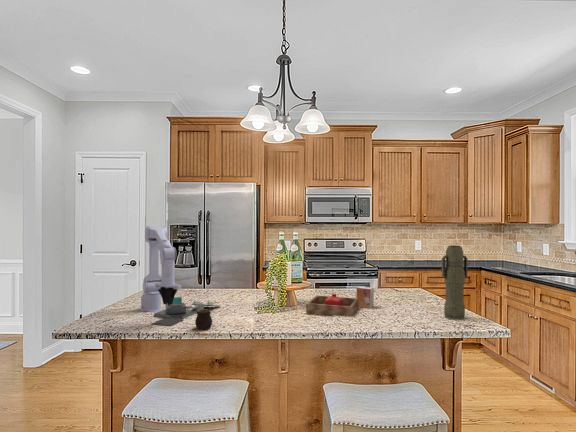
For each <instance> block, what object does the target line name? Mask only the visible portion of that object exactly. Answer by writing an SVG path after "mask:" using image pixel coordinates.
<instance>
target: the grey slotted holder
mask: <svg viewBox="0 0 576 432" xmlns="http://www.w3.org/2000/svg"><path fill="white" fill-rule="evenodd" d="M182 303H183V305H178V306H170V305H168V304H164V306H165V307H164V310H166V314H177V313H186V310H189V309H197V308H200V305H195V306H193V305H186V303H185V302H182Z"/></svg>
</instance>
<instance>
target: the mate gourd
mask: <svg viewBox="0 0 576 432" xmlns="http://www.w3.org/2000/svg"><path fill="white" fill-rule="evenodd" d="M213 307H214V306H210V308H209V309H207V308H204V309H200V310H198V311H197V316H196V318H195V320H194V321H195V327H196V329H197V330H200V331H204V330H208V329H209V330H210V328H211V327H212V324H213V318H212V316H211V309H212V308H213Z"/></svg>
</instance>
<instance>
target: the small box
mask: <svg viewBox="0 0 576 432" xmlns="http://www.w3.org/2000/svg"><path fill="white" fill-rule="evenodd" d="M374 291H375V287H371V286H370V287H369V286H357V287H356V295H355V296H356V297H355V298H359V308H362V309H372V308H373V307H374V301H375V299H374V295H375V294H374V293H375V292H374Z"/></svg>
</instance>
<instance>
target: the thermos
mask: <svg viewBox="0 0 576 432" xmlns="http://www.w3.org/2000/svg"><path fill="white" fill-rule="evenodd" d="M468 261H469V260H468V257H467V256H466V255H465V254H464V249H463V247H462V246H460V245H456V244H455V245H452V244H451V245H449V246H447V248H446V250H445V255H443V256H442V257H441V277H442V278H444V284H445V302H444V306H443V310H444V311H443V314H444V318H446V319H448V320H455V321H459V320H460V321H461V320H464V319H465V316H466V306H465V304H464V303H465V302H464V300H465V299H464V295H465V294H464V293H465V292H464V289H465V287H464V286H465V283H466V282H465V281H466V279H467V278H468V274H469V273H468V263H469V262H468Z"/></svg>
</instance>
